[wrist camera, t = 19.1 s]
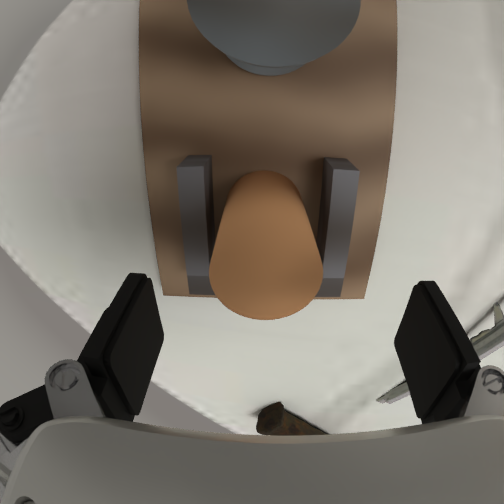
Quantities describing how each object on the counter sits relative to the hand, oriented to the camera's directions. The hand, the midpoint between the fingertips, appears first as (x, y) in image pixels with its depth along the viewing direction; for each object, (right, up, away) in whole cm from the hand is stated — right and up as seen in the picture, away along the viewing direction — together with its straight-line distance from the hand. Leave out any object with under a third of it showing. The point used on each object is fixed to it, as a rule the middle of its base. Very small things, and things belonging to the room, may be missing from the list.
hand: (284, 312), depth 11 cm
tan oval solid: (0, +5, +10) cm, 11 cm away
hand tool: (+8, -21, +27) cm, 35 cm away
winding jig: (0, +9, +9) cm, 13 cm away
